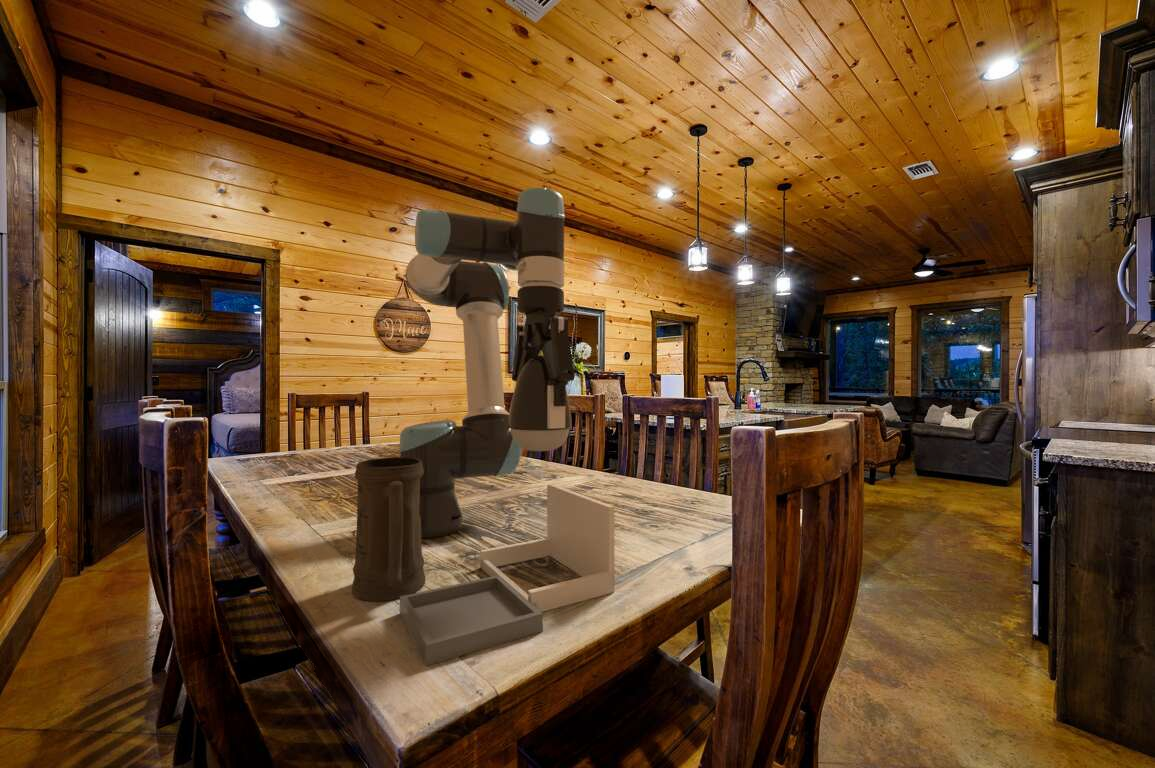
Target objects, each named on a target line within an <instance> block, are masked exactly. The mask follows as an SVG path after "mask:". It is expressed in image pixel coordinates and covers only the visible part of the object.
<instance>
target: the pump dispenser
mask: <svg viewBox="0 0 1155 768" xmlns="http://www.w3.org/2000/svg"><path fill="white" fill-rule="evenodd" d="M549 379H550V378H549V374H548V371H547V367H546V363H545V360H544V356H543V354H542V355H540V354H539V356H534V357H532V358H530V359H529V360H528V361H527V362H526V363H525V365H524V366H523V368H522V370H521V372H520V374H519V377H518V380H517V383H515V387H514V390H513V394H512V398H511V400H510V401H511V402H510V407H509V412H508V413H509V421H508V427H509V428H510V430H511V434H512V437H513V439H514V441H515V443H516V444H517V445H518V446H519V447H521V448H522V449H523V450H524V451H528V452H529V451H530V452H546V451H547V452H550V451H555V450H557V449H558V448H560V447H562V446H563V445H564V443H565V442H566V441H567V438H568V436H569V433H570V429H572V425H573V424H572V412H571V406H570V401H569V396H568V393H567V391H566V396H565V397H566V403H565V428H553V429H549V428H547V392H548V385H547V382H548V380H549Z"/></svg>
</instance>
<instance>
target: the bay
mask: <svg viewBox="0 0 1155 768" xmlns="http://www.w3.org/2000/svg"><path fill="white" fill-rule="evenodd" d="M546 486H547V487H546V488H547V489H546V490H547V492H546V493H547V496H546V497H547V498H546V499H547V503H546V505H547V507H546V511H547V512H546V517H547V519H546V521H547V522H546V525H547V526H546V528H547V529H546V530H547V532H546V533H547V534H546V536H547V537H546V538H541V539H535V540H529V541H524V542H518V543H512V544H509V545H507V544H506V545H502V546H497V547H491V548H486V549H480V554H479V555H480V557H479V559H480V562H479V563H480V564H479V565H480V566H479V567H480V569H481V570H482V571H483V572H484V573H485V574H487V576H488V577H492V576H497V575H500V576H501V577H502V578H503V579H504V580H505V581H506V582H508V583H509V584H510V585H511V586H512V587H513V588H514V589H516V590H517V591H518V592H519V593H520V594H521V595H522V596H524V597H525V598H526V599H527V600H528V601H529V602H530V603H531V604H533V605H534V606H535V607H536V608H537V609H538V610H539V611H541V612H542V613H543V612H546V611H550V610H554V609H558V608H561V607H565V606H569V605H572V604H576V603H577V604H578V603H581V602H584V601H587V600H590V599H591V600H592V599H594V598H597V597H601V596H605V595H609V594H614V593H615V505H611V504H609V503H605V502H603V501H600V500H598V499H594V498H592V497H590V496H586V495H583V494H581V493H578V492H575V491H573V490H570V489H567V488H565V487H562V486H559V485H556V484H553V483H548V484H546ZM547 557H551V558H552V559H554V560H556V561H557V562H558V563H561V564H562V565H564V566H565V567H567V568H568V569H570V570H572V571H573V572H575V573H576V574H577V575H579V576H580V577H577V578H574V579H573V578H572V579H569V580H568V579H567V580H565V581H561V582H557V583H552V584H548V585H545V586H541V587H536V588H532V589H528V590H527V592H526V591H524V590H523V589H522V588H521V587H520V586H519V585H518V584H516V582H514V581H513V580H512V579H510V578H509V577H508V575H506V574H505V573H503V572H502V571H501V570H500V569H499V568H498V567H501V566H507V565H511V564H517V563H522V562H526V561H530V560H531V561H532V560H535V559H540V558H547Z"/></svg>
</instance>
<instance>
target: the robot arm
mask: <svg viewBox="0 0 1155 768" xmlns="http://www.w3.org/2000/svg"><path fill="white" fill-rule="evenodd" d="M564 206H565V204H564V198H563V195H562V194H560V192H558V191H556V190H554V189H551V188H547V187H531V188H526V189H524V190H522V191H521V192H520V193H519V194H518V197H517V207H516V211H517V218H516V219H515V220H514V221H511V220H504V219H498V218H497V219H496V218H489V217H484V216H483V217H482V216H476V215H469V214H464V213H457V212H451V211H445V210H441V209H420V210H419V211H418V212H417V214H416V218H415V226H414V247H415V251H416V252H417V255H416V256H414V257H413V258H412V259H411V260H410V261H409V262H408V264H407V267H406V271H405V280H406V283H407V286H408V287H409V289H410V290H411V291H412V292H413V294H414V295H416V296H417V297H418V298H420V299H421V300H423V301H425V302H427V303H429V304H431V305H434V306H439V307H445V308H446V307H448V308H455V314H456V317H457V318H458V319H459V320H461V321H462V328H463V329H462V330H463V342H464V345H463V346H464V361H465V365H464V366H465V376H466V377H465V380H466V396H467V397H466V398H467V413H466V415H465V416H464V417H463V418H462V419H461V420H462V421H461V424H462V425H459V426H456V422H455V421H454V420H453V419H451V420H447V419H446V420H436V421H428V422H424V423H418V424H413V425H410V426H406V427H405V428H403V429H402V430H401V432H400V434H399V447H398V452H399V457H406V458H416V459H419V460H421V461H422V465H423V470H424V473H423V475H422V476H421V478H420V496H419V497H420V502H419V515H420V518H421V539H428V538H436V537H437V538H438V537H442V536H443V537H444V536H446V535H450V534H453V533H455V532H458V531H459V530H461V529H462V528H463V525H464V524H463V513H462V509H461V507H460V503H459V501H458V497H457V496H456V495H457V494H456V491H455V489H456V488H455V487H456V486H455V480H456V479H465V478H466V479H467V478H479V477H481V478H482V477H492V476H493V477H497V476H502V475H504V476H505V475H510V474H512V473H514V471H516V469H517V468H518V465H519V463H520V460H521V455H522V449H523V448H521V447H519V446H518V445H517V444H516V443H515V441H514V439H513V437H512V434H511V430H510V428H509V427H508V421H509V413H510V412H509V411H507V410H506V406H505V397H504V384H503V372H502V369H503V368H502V356H501V345H500V332H499V322H498V321H499V319H500V318H501V317H502V316H503V314H504V311H505V310H506V309H507V308H508V306H509V302H510V286H509V284H510V283H509V280H508V276H507V274H506V272H505V270H504V269H503V267H504V268H506V269H508V270H511V271H517V285H518V286H519V287H520V288H519V289H518V290H517V305H516V306H517V311H518V312H519V313H520V314H524V315H525V322H524V324H517V325H516V328H515V329H516V332H515V333H516V342H515V348H514V357H513V364H512V371H511V372H512V373H511V380H512V381H513V382H516V383H517V380H518V377H519V374H520V372H521V370H522V368H523V366H524V365H525V363H526V362H527V361H528V360H529V359H530V358H532V357H534V356H539V355H540V352H542V356H544V360H545V363H546V367H547V371H548V374H549V378H550V379H549V380H548V382H547V385H548V392H547V428H549V429H553V428H565V403H566V397H565V396H566V392H567V385H568V384H569V382H570V381H571V382H572V381H574V380H575V377H576V376H575V370H574V364H573V357H572V356H573V355H572V350H571V341H570V336H569V318H568V317H566V316H565V317H563V316H557V315H559V314H562V313H563V312H564V310H565V291H564V290H563V289H562V288H563V287H564V286H565V260H564V259H565V255H564V254H565V219H566V215H565V207H564ZM499 264H500V265H502V266H503V267H501V266H500V265H499ZM516 383H515V384H516Z"/></svg>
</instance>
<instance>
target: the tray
mask: <svg viewBox="0 0 1155 768" xmlns="http://www.w3.org/2000/svg"><path fill="white" fill-rule="evenodd" d="M399 615H400V618H401V619H402V621H403V623H404V625H405V626H406V629H407V632H408V633H409V635H410V637H411V638H412V640H413V642H414V644H415V646H416V649H417V651H418V652H419V654H420V657H421V659H422V660H423V662H424V664H425V666H426V667H428V666H431V665H434V664H439V663H442V662H444V661H449V660H451V659H454V658H455V659H456V658H458V657H461V656H465V655H468V654H472V653H474V652H475V653H476V652H478V651H481V650H485V649H489V648H491V647H495V646H499V645H502V644H506V643H508V642H512V641H515V640H518V639H522V638H525V637H529V636H532V635H535V634H539V633H542V632H543V630H544V629H543V628H544V623H543V622H544V615H543V612H541V611H539V610H538V609H537V608H536V607H535V606H534V605H533V604H531V603H530V602H529V601H528V600H527V599H526V598H525V597H524V596H522V595H521V594H520V593H519V592H518V591H517V590H516V589H514V588H513V587H512V586H511V585H510V584H509V583H508V582H506V581H505V580H504V579H503V578H502V577H501V576H500V575H497V576H492V577H490V576H488V577H484V578H480V579H479V578H478V579H475V580H470V581H467V582H466V581H465V582H461V583H457V584H456V583H455V584H452V585H447V586H443V587H437V588H433V589H429V590H424V591H420V592H414V593H412V594H409V595H405V596H400V598H399Z"/></svg>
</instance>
